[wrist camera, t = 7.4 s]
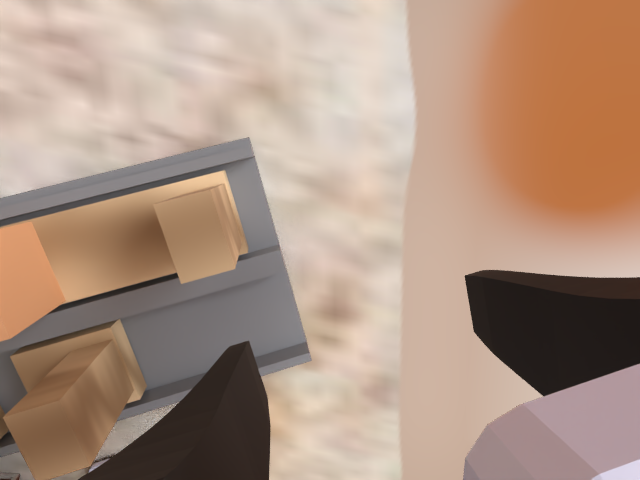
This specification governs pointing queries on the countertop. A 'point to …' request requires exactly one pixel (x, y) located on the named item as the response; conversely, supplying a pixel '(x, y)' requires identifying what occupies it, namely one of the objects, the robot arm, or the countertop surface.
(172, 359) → the lane board
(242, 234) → the oak strip
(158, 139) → the countertop surface
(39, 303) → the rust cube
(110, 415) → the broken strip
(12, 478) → the food container
